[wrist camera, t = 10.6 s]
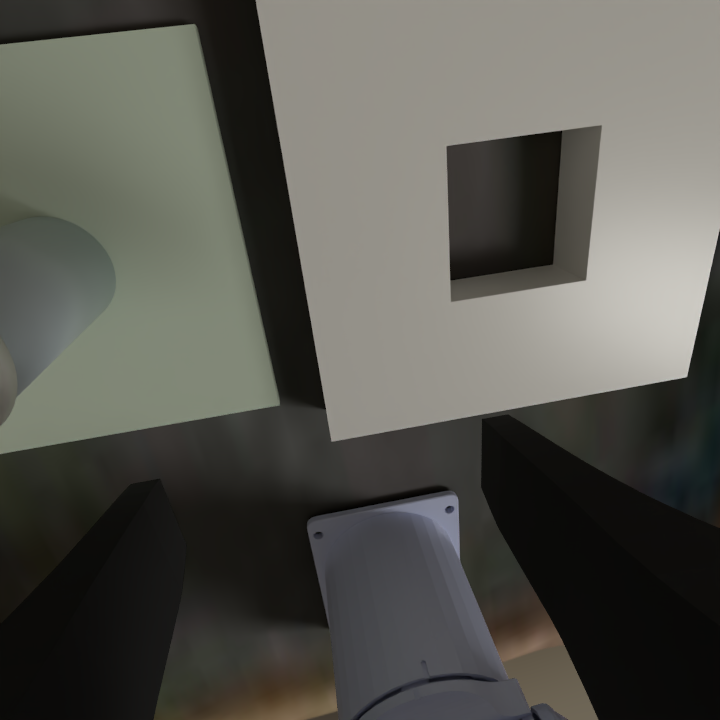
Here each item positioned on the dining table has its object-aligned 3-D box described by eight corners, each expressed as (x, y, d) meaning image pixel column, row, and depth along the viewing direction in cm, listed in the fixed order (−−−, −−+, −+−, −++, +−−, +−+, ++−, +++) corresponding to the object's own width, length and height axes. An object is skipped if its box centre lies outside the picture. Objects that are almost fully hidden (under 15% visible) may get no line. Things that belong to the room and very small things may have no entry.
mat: (279, 399, 21) (279, 405, 21) (-47, 455, 20) (-55, 463, 20) (197, 27, 15) (194, 23, 15) (-281, 78, 14) (-299, 76, 14)
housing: (647, 353, 23) (686, 377, 21) (326, 410, 22) (331, 441, 20) (721, -65, 16) (792, -98, 14) (253, -18, 15) (247, -46, 13)
